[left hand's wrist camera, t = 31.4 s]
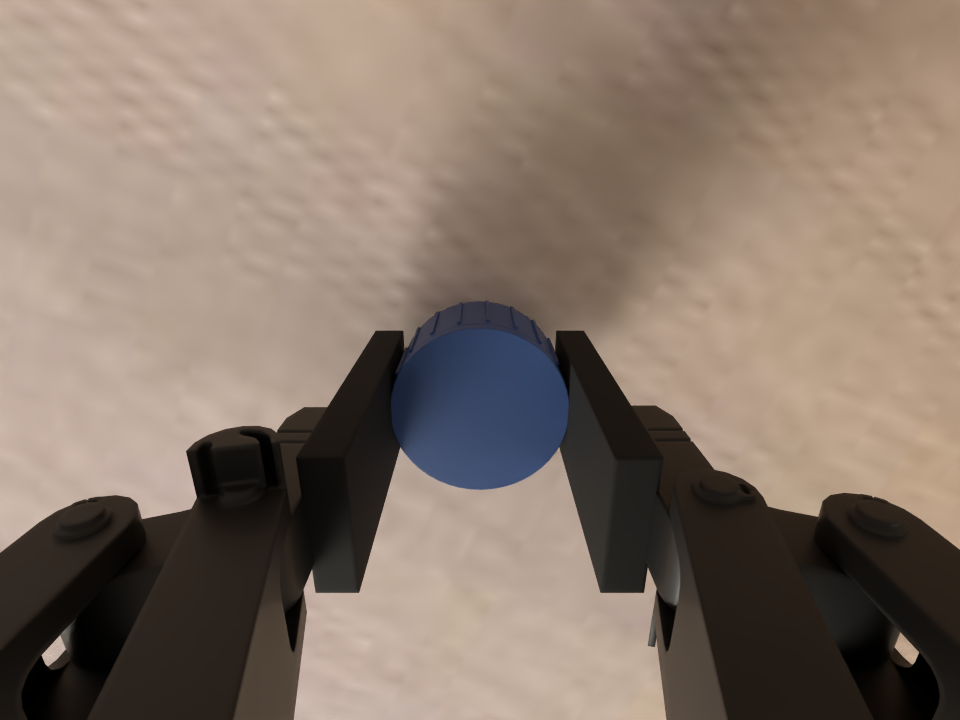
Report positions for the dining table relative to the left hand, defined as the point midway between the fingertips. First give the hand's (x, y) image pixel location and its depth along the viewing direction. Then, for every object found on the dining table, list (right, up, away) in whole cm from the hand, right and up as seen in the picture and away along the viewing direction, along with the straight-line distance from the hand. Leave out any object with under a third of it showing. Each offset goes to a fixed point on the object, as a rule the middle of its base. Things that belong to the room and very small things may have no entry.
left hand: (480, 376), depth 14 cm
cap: (0, -1, -2) cm, 2 cm away
